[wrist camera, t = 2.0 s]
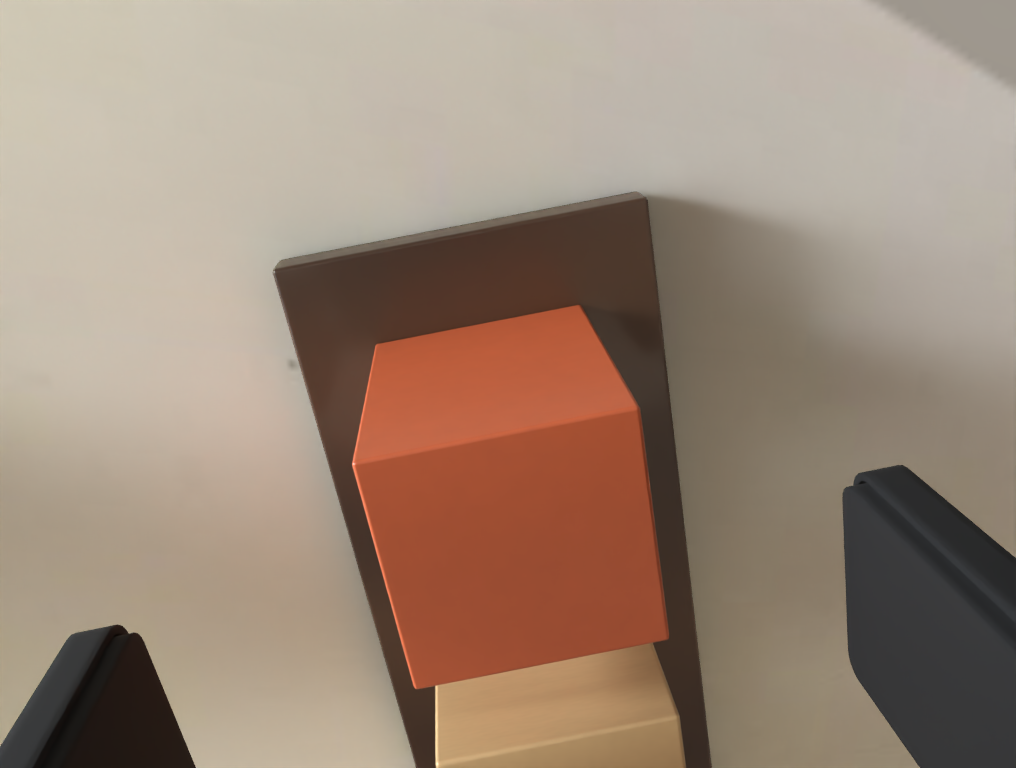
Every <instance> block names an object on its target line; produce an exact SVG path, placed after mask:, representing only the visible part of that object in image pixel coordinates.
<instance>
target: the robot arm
mask: <svg viewBox="0 0 1016 768" xmlns="http://www.w3.org/2000/svg"><path fill="white" fill-rule="evenodd" d="M843 524H844V551H845V578H846V605H847V632H848V652H849V658H850V662H851V665H852V668H853V670H854V673H855V675H856V677H857V678H858V680H859V682H860V683H861V685H862V686H863V687H864V689H865V690H866V692H867V693H868V694H869V696H870V697H871V699H872V700H873V702H874V703H875V704H876V706H877V707H878V709H879V710H880V712H881V713H882V714H883V716H884V717H885V719H886V720H887V721H888V723H889V724H890V726H891V727H892V729H893V730H894V731H895V733H896V734H897V736H898V737H899V739H900V740H901V741H902V743H903V744H904V746H905V747H906V748H907V750H908V751H909V753H910V754H911V756H912V757H913V758H914V760H915V761H916V763H917V764H918V766H919V767H920V768H1016V558H1015V557H1014V556H1012V555H1011V554H1010V553H1009V552H1008V551H1006V550H1005V549H1004V548H1003V547H1002V546H1000V545H999V544H998V543H997V542H996V541H994V540H993V539H992V538H991V537H990V536H988V535H987V534H986V533H985V532H984V531H982V530H981V529H980V528H979V527H978V526H976V525H975V524H974V523H973V522H972V521H970V520H969V519H968V518H967V517H966V516H964V515H963V514H962V513H961V512H960V511H958V510H957V509H956V508H955V507H954V506H953V505H951V504H950V503H949V502H948V501H947V500H945V499H944V498H943V497H942V496H941V495H939V494H938V493H937V492H936V491H935V490H933V489H932V488H931V487H930V486H929V485H927V484H926V483H925V482H924V481H923V480H921V479H920V478H919V477H918V476H917V475H915V474H914V473H913V472H912V471H911V470H909V469H908V468H907V467H905V466H903V465H897V466H892V467H887V468H882V469H877V470H872V471H867V472H863V473H859V474H858V475H856V477H855V480H854V486H849V487H846V488H845V489H844V492H843ZM0 768H196V767H195V765H194V762H193V760H192V757H191V755H190V753H189V750H188V748H187V745H186V743H185V740H184V738H183V736H182V733H181V731H180V728H179V726H178V723H177V721H176V719H175V716H174V714H173V711H172V709H171V706H170V704H169V702H168V699H167V697H166V694H165V692H164V689H163V687H162V684H161V682H160V680H159V677H158V675H157V672H156V670H155V667H154V665H153V663H152V660H151V658H150V655H149V653H148V650H147V648H146V646H145V643H144V641H143V639H142V637H141V636H140V635H139V634H138V633H130V634H129V633H128V632H127V630H126V629H125V628H124V627H123V626H121V625H113V626H108V627H103V628H98V629H93V630H88V631H83V632H79V633H75V634H72V635H71V636H70V637H69V638H68V639H67V640H66V642H65V644H64V645H63V647H62V648H61V650H60V652H59V653H58V655H57V656H56V658H55V660H54V661H53V663H52V664H51V666H50V668H49V669H48V671H47V672H46V674H45V676H44V677H43V679H42V680H41V682H40V684H39V685H38V687H37V688H36V690H35V692H34V693H33V695H32V696H31V698H30V700H29V701H28V703H27V704H26V706H25V708H24V709H23V711H22V712H21V714H20V716H19V717H18V719H17V720H16V722H15V724H14V725H13V727H12V728H11V730H10V732H9V733H8V735H7V736H6V738H5V740H4V741H3V743H2V744H1V746H0Z"/></svg>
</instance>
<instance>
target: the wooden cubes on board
mask: <svg viewBox="0 0 1016 768" xmlns="http://www.w3.org/2000/svg"><path fill="white" fill-rule="evenodd" d="M273 275H274V278H275V282H276V285H277V288H278V292H279V295H280V299H281V302H282V306H283V309H284V313H285V316H286V319H287V323H288V326H289V330H290V333H291V337H292V340H293V344H294V347H295V351H296V354H297V357H298V361H299V364H300V368H301V371H302V375H303V378H304V382H305V385H306V388H307V392H308V395H309V399H310V402H311V406H312V409H313V413H314V416H315V420H316V423H317V426H318V430H319V433H320V437H321V440H322V444H323V447H324V451H325V454H326V458H327V461H328V464H329V468H330V471H331V475H332V478H333V482H334V485H335V489H336V492H337V495H338V499H339V502H340V506H341V509H342V513H343V516H344V520H345V523H346V527H347V530H348V533H349V537H350V540H351V544H352V547H353V551H354V554H355V558H356V561H357V564H358V568H359V571H360V575H361V578H362V582H363V585H364V589H365V592H366V596H367V599H368V602H369V606H370V609H371V613H372V616H373V620H374V623H375V627H376V630H377V633H378V637H379V640H380V644H381V647H382V651H383V654H384V658H385V661H386V665H387V668H388V671H389V675H390V678H391V682H392V685H393V689H394V692H395V696H396V699H397V703H398V706H399V709H400V713H401V716H402V720H403V723H404V727H405V730H406V734H407V737H408V740H409V744H410V747H411V751H412V754H413V758H414V761H415V765H416V768H712V766H711V757H710V748H709V739H708V730H707V721H706V712H705V704H704V695H703V686H702V677H701V668H700V659H699V650H698V642H697V633H696V624H695V615H694V606H693V597H692V588H691V580H690V571H689V562H688V553H687V544H686V535H685V526H684V518H683V509H682V500H681V491H680V482H679V473H678V464H677V456H676V447H675V438H674V429H673V420H672V411H671V402H670V394H669V385H668V376H667V367H666V358H665V349H664V340H663V332H662V323H661V314H660V305H659V296H658V287H657V279H656V270H655V261H654V252H653V243H652V234H651V225H650V217H649V208H648V200H647V198H646V197H644V196H643V195H641V194H640V193H639V192H631V193H626V194H621V195H616V196H610V197H605V198H600V199H595V200H590V201H584V202H579V203H574V204H569V205H564V206H559V207H553V208H548V209H543V210H538V211H533V212H528V213H522V214H517V215H512V216H507V217H502V218H497V219H491V220H486V221H481V222H476V223H471V224H465V225H460V226H455V227H450V228H445V229H440V230H434V231H429V232H424V233H419V234H414V235H409V236H403V237H398V238H393V239H388V240H383V241H377V242H372V243H367V244H362V245H357V246H352V247H346V248H341V249H336V250H331V251H326V252H321V253H315V254H310V255H305V256H300V257H295V258H289V259H284V260H281V261H280V262H279V263H278V264H277V266H276V267H275V268H274V270H273ZM576 305H581V306H582V308H583V310H584V311H585V313H586V315H587V317H588V318H589V320H590V322H591V324H592V325H593V327H594V329H595V331H596V332H597V334H598V336H599V338H600V339H601V341H602V343H603V344H604V346H605V348H606V350H607V351H608V353H609V355H610V357H611V358H612V360H613V362H614V364H615V365H616V367H617V369H618V371H619V372H620V374H621V376H622V378H623V379H624V381H625V383H626V385H627V386H628V388H629V390H630V391H631V393H632V395H633V397H634V398H635V400H636V402H637V404H638V405H639V407H640V411H641V419H642V427H643V434H644V442H645V450H646V458H647V466H648V473H649V481H650V489H651V497H652V505H653V512H654V520H655V528H656V536H657V544H658V551H659V559H660V567H661V575H662V583H663V590H664V598H665V606H666V614H667V622H668V629H669V638H668V639H667V640H664V641H659V642H654V643H649V644H644V645H639V646H634V647H629V648H624V649H619V650H613V651H608V652H603V653H598V654H593V655H588V656H583V657H578V658H573V659H568V660H563V661H558V662H553V663H548V664H543V665H538V666H533V667H528V668H523V669H518V670H513V671H508V672H503V673H498V674H493V675H488V676H483V677H478V678H473V679H468V680H462V681H457V682H452V683H447V684H442V685H437V686H432V687H427V688H422V689H415V687H414V686H413V682H412V679H411V675H410V671H409V668H408V664H407V661H406V657H405V653H404V650H403V646H402V643H401V639H400V635H399V632H398V628H397V625H396V621H395V617H394V614H393V610H392V607H391V603H390V599H389V596H388V592H387V589H386V585H385V581H384V578H383V574H382V571H381V567H380V563H379V560H378V556H377V553H376V549H375V545H374V542H373V538H372V535H371V531H370V527H369V524H368V520H367V517H366V513H365V509H364V506H363V502H362V499H361V495H360V491H359V488H358V484H357V481H356V477H355V473H354V470H353V466H352V462H353V457H354V452H355V447H356V442H357V437H358V432H359V427H360V422H361V417H362V412H363V407H364V402H365V396H366V391H367V386H368V381H369V376H370V371H371V366H372V361H373V356H374V351H375V346H376V345H377V344H380V343H385V342H390V341H396V340H401V339H406V338H411V337H416V336H421V335H426V334H432V333H437V332H442V331H447V330H452V329H457V328H462V327H468V326H473V325H478V324H483V323H488V322H493V321H498V320H504V319H509V318H514V317H519V316H524V315H529V314H534V313H540V312H545V311H550V310H555V309H560V308H565V307H570V306H576Z"/></svg>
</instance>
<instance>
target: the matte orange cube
mask: <svg viewBox="0 0 1016 768" xmlns="http://www.w3.org/2000/svg"><path fill="white" fill-rule="evenodd" d="M352 466H353V470H354V473H355V477H356V481H357V484H358V488H359V491H360V495H361V499H362V502H363V506H364V509H365V513H366V517H367V520H368V524H369V527H370V531H371V535H372V538H373V542H374V545H375V549H376V553H377V556H378V560H379V563H380V567H381V571H382V574H383V578H384V581H385V585H386V589H387V592H388V596H389V599H390V603H391V607H392V610H393V614H394V617H395V621H396V625H397V628H398V632H399V635H400V639H401V643H402V646H403V650H404V653H405V657H406V661H407V664H408V668H409V671H410V675H411V679H412V682H413V686H414V687H415V689H422V688H427V687H432V686H437V685H442V684H447V683H452V682H457V681H462V680H468V679H473V678H478V677H483V676H488V675H493V674H498V673H503V672H508V671H513V670H518V669H523V668H528V667H533V666H538V665H543V664H548V663H553V662H558V661H563V660H568V659H573V658H578V657H583V656H588V655H593V654H598V653H603V652H608V651H613V650H619V649H624V648H629V647H634V646H639V645H644V644H649V643H654V642H659V641H664V640H667V639H668V638H669V629H668V622H667V614H666V606H665V598H664V590H663V583H662V575H661V567H660V559H659V551H658V544H657V536H656V528H655V520H654V512H653V505H652V497H651V489H650V481H649V473H648V466H647V458H646V450H645V442H644V434H643V427H642V419H641V411H640V407H639V405H638V404H637V402H636V400H635V398H634V397H633V395H632V393H631V391H630V390H629V388H628V386H627V385H626V383H625V381H624V379H623V378H622V376H621V374H620V372H619V371H618V369H617V367H616V365H615V364H614V362H613V360H612V358H611V357H610V355H609V353H608V351H607V350H606V348H605V346H604V344H603V343H602V341H601V339H600V338H599V336H598V334H597V332H596V331H595V329H594V327H593V325H592V324H591V322H590V320H589V318H588V317H587V315H586V313H585V311H584V310H583V308H582V306H581V305H576V306H570V307H565V308H560V309H555V310H550V311H545V312H540V313H534V314H529V315H524V316H519V317H514V318H509V319H504V320H498V321H493V322H488V323H483V324H478V325H473V326H468V327H462V328H457V329H452V330H447V331H442V332H437V333H432V334H426V335H421V336H416V337H411V338H406V339H401V340H396V341H390V342H385V343H380V344H377V345H376V346H375V351H374V356H373V361H372V366H371V371H370V376H369V381H368V386H367V391H366V396H365V402H364V407H363V412H362V417H361V422H360V427H359V432H358V437H357V442H356V447H355V452H354V457H353V462H352Z"/></svg>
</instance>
